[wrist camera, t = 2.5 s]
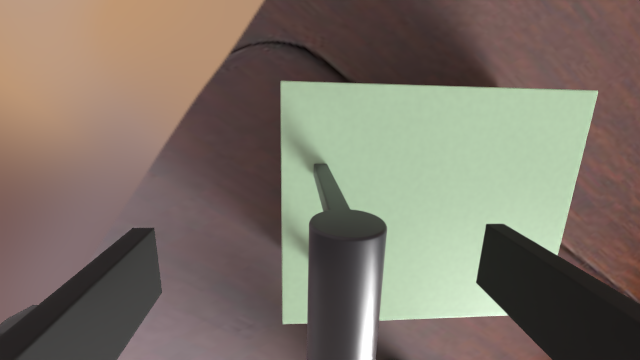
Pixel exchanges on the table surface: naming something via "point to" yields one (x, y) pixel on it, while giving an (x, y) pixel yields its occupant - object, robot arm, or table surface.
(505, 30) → the table surface
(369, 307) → the lunchbox lid
